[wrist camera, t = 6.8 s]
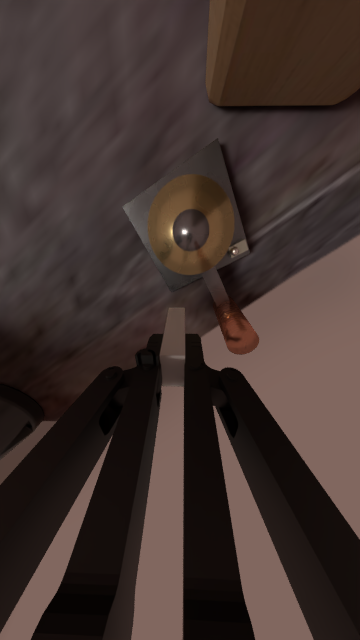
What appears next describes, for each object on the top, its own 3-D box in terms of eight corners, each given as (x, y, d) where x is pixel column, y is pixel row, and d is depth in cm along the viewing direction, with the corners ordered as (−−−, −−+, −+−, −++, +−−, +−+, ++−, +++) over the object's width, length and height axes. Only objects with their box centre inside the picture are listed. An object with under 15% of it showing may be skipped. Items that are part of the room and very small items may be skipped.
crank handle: (256, 300, 18) (293, 336, 12) (200, 324, 20) (207, 367, 13) (209, 160, 12) (232, 90, 6) (137, 213, 14) (99, 200, 8)
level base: (172, 289, 19) (170, 296, 17) (126, 208, 15) (116, 204, 13) (246, 252, 16) (255, 255, 14) (215, 144, 13) (221, 128, 11)
